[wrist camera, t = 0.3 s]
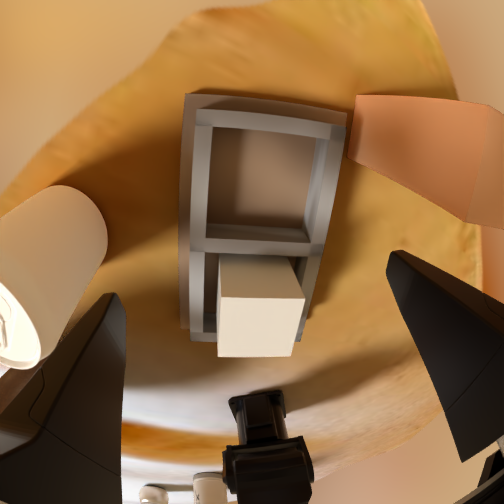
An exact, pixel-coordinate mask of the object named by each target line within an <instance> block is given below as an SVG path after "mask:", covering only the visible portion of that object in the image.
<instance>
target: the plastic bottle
mask: <svg viewBox="0 0 504 504" xmlns="http://www.w3.org/2000/svg"><path fill="white" fill-rule="evenodd" d="M139 497H140V502H141V504H168V500H169V498H168V493H167V492H166V490H164V489H162V488H159V487H154V486H143V487H142V488H141V489H140V493H139Z"/></svg>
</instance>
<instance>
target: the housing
mask: <svg viewBox="0 0 504 504" xmlns="http://www.w3.org/2000/svg"><path fill="white" fill-rule="evenodd" d="M346 119H347V113H344V112H339V111H334V110H329V109H324V108H319V107H314V106H308V105H302V104H296V103H289V102H282V101H275V100H267V99H259V98H249V97H239V96H226V95H210V94H185V101H184V113H183V126H182V141H181V159H180V182H179V225H178V261H179V304H180V327H181V329H187V330H190V341H200V342H217V316H216V298H217V279H218V262H219V253H235V254H258V255H282V256H287V258H288V260H289V262H290V265H291V267H292V269H293V271H294V274H295V276H296V278H297V281H298V283H299V285H300V287H301V290H302V292H303V294H304V297H305V302H304V306H303V310H302V314H301V318H300V322H299V326H298V330H297V334H296V337H295V341H294V342H300V340H301V336H302V333H303V329H304V325H305V322H306V318H307V314H308V310H309V307H310V303H311V299H312V295H313V291H314V287H315V283H316V279H317V275H318V271H319V267H320V262H321V258H322V254H323V249H324V245H325V241H326V236H327V231H328V227H329V222H330V217H331V212H332V208H333V203H334V198H335V192H336V187H337V182H338V176H339V171H340V165H341V160H342V154H343V148H344V142H345V135H346V129H347V127H345V126H346Z"/></svg>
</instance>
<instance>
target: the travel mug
mask: <svg viewBox="0 0 504 504" xmlns="http://www.w3.org/2000/svg"><path fill="white" fill-rule="evenodd" d="M193 483H194V484H193V490H194V504H228V502H227V492H226V484H224V483H223V480H222V474H218V473H209V472H208V473H199V474H196V475H194V477H193Z"/></svg>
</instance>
